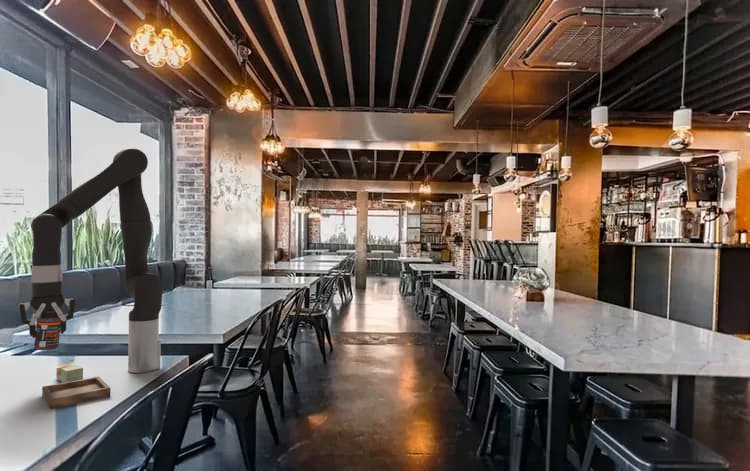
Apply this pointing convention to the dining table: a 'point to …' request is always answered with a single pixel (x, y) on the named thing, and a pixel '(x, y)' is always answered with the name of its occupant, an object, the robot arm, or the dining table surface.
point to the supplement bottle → (47, 331)
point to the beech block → (62, 367)
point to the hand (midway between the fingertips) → (48, 335)
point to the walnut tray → (75, 392)
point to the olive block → (71, 374)
